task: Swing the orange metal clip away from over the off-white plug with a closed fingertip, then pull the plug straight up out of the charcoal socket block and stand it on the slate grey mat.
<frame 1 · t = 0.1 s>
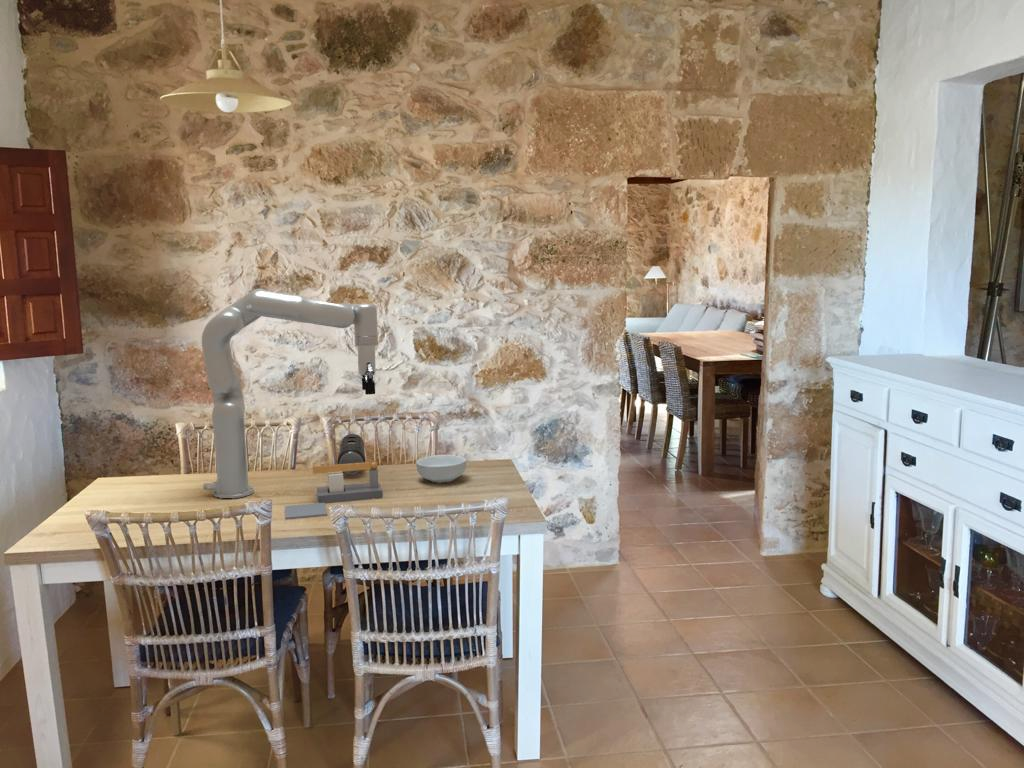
hand: (368, 391, 284), 31 cm above the table, tool pointing down, fingers open, 9 cm apart
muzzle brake: (352, 469, 306), on the table
cereal bowl: (441, 480, 290), on the table
clip: (345, 467, 270), point 10 cm above the table, hinge at 0.0°
socket block: (349, 496, 272), on the table
mat: (305, 511, 257), on the table
plug: (336, 497, 271), resting in socket block
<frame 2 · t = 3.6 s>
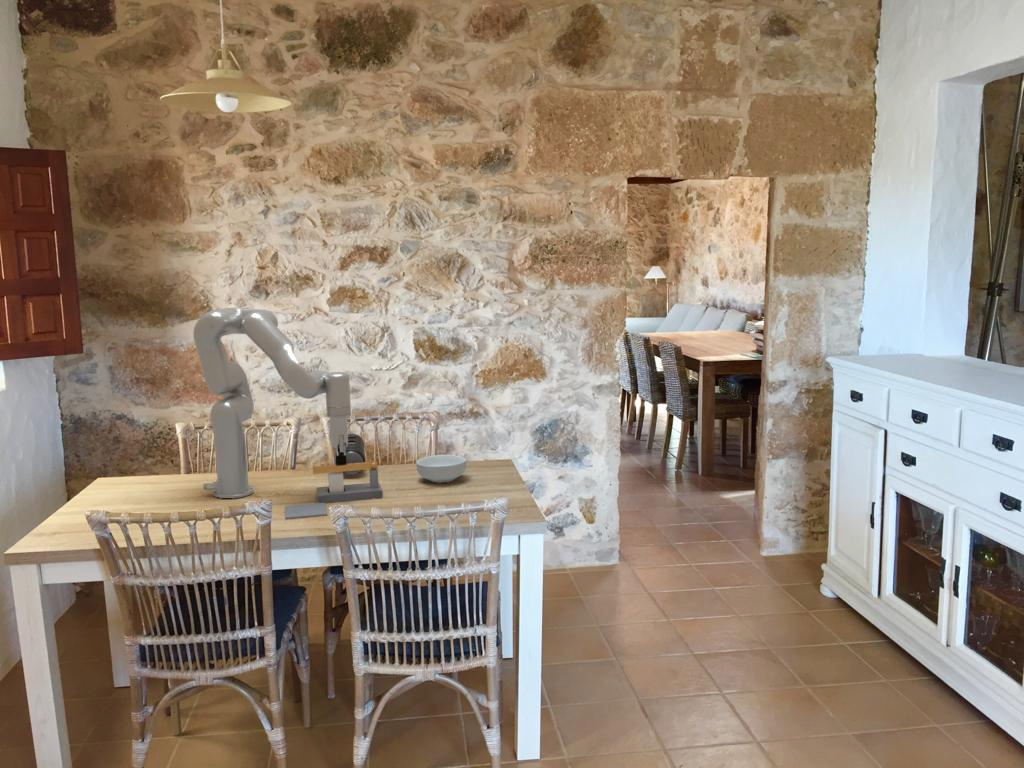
hand: (341, 467, 272), 9 cm above the table, tool pointing down, fingers closed
clip: (345, 467, 270), point 10 cm above the table, hinge at 0.6°, touching gripper
everything else where it was.
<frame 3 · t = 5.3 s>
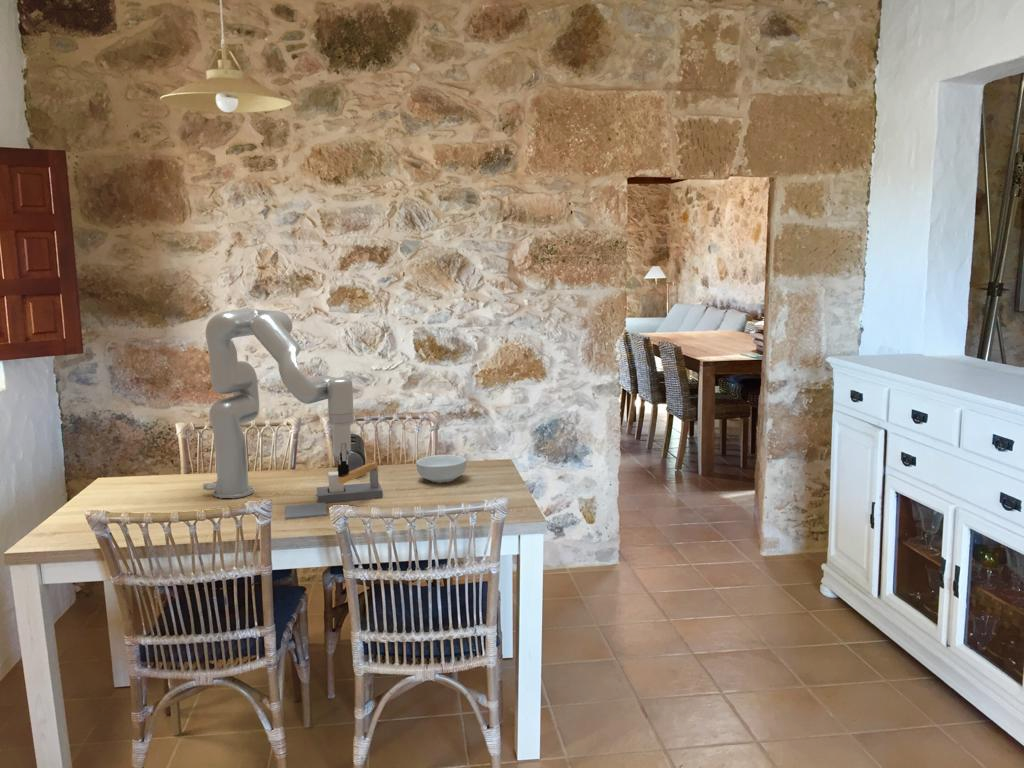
hand: (343, 476, 262), 9 cm above the table, tool pointing down, fingers closed
clip: (358, 472, 264), point 10 cm above the table, hinge at 52.8°, touching gripper
everything else where it was.
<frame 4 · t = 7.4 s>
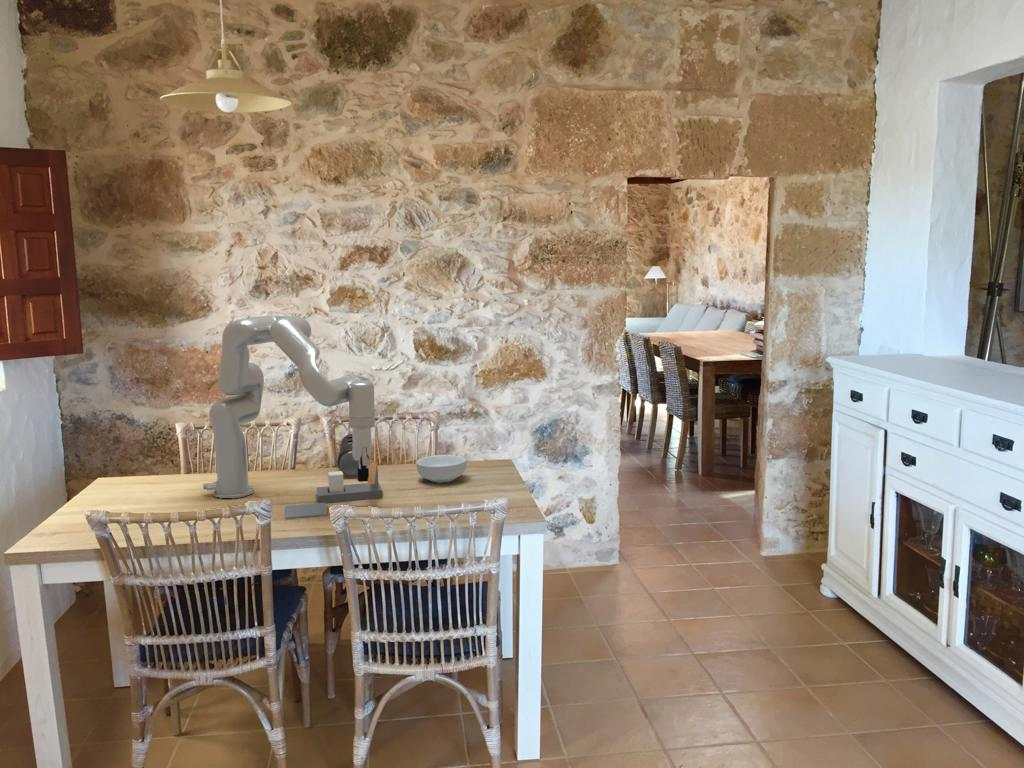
hand: (363, 480, 258), 9 cm above the table, tool pointing down, fingers closed
clip: (372, 472, 264), point 10 cm above the table, hinge at 81.6°, touching gripper
everything else where it was.
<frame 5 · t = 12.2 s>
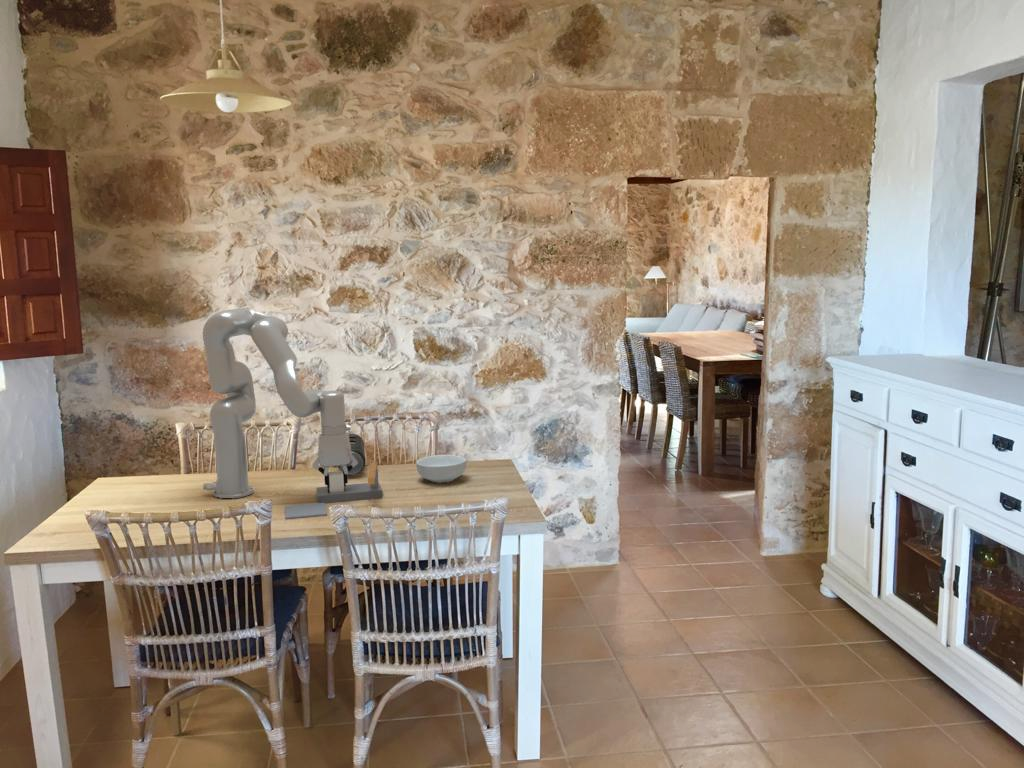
hand: (336, 485, 270), 4 cm above the table, tool pointing down, fingers closed on plug, 4 cm apart
clip: (372, 472, 264), point 10 cm above the table, hinge at 81.6°
plug: (336, 497, 271), resting in socket block, touching gripper
everything else where it was.
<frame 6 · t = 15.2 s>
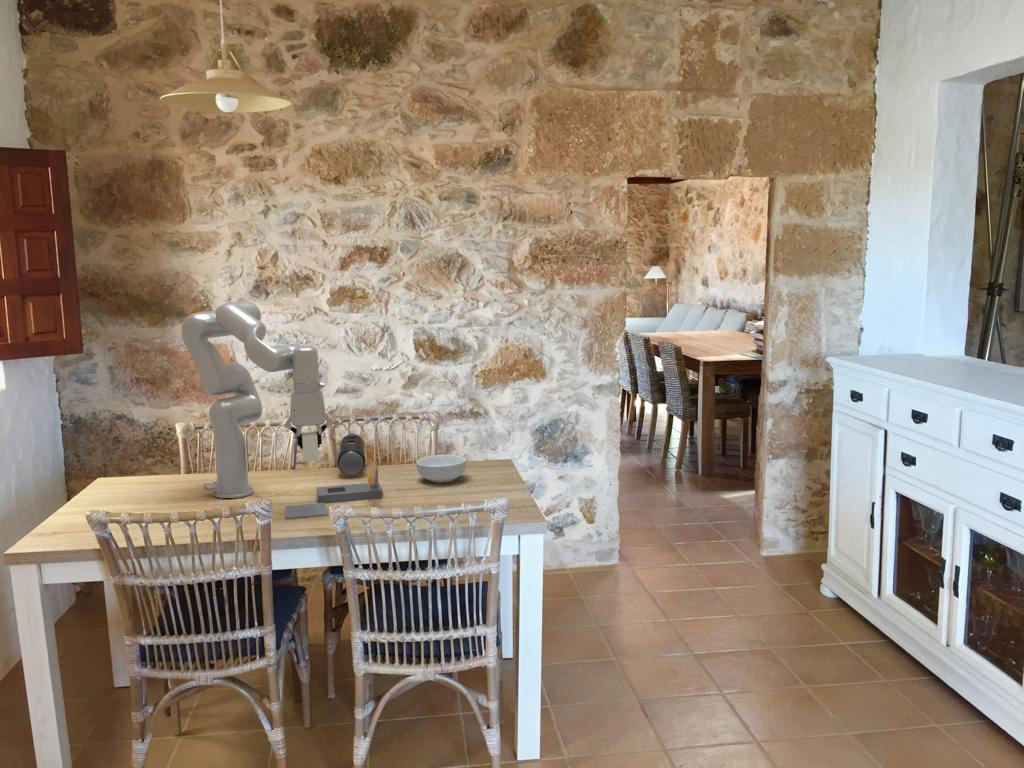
hand: (309, 446, 257), 19 cm above the table, tool pointing down, fingers closed on plug, 4 cm apart
plug: (310, 459, 257), point 15 cm above the table, touching gripper
everything else where it was.
when the fingers open (6 cm above the table, at t = 18.4 s): plug drops 1 cm, resting on mat.
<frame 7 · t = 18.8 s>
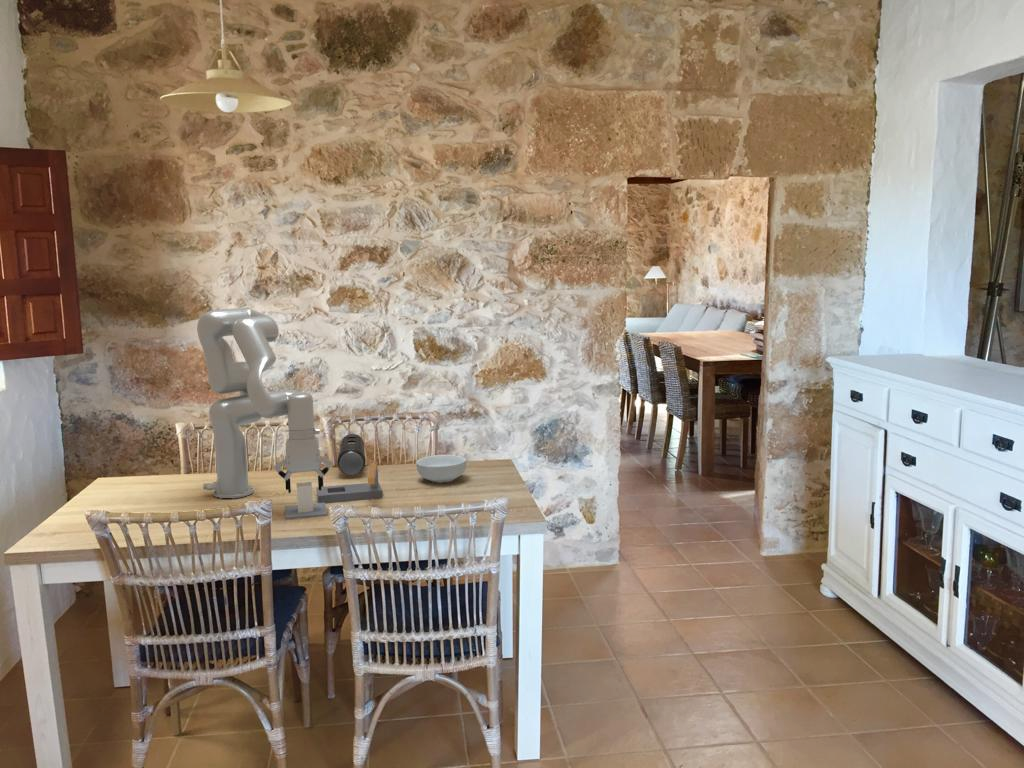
hand: (304, 490, 256), 7 cm above the table, tool pointing down, fingers open, 8 cm apart
plug: (305, 509, 257), resting on mat
everything else where it was.
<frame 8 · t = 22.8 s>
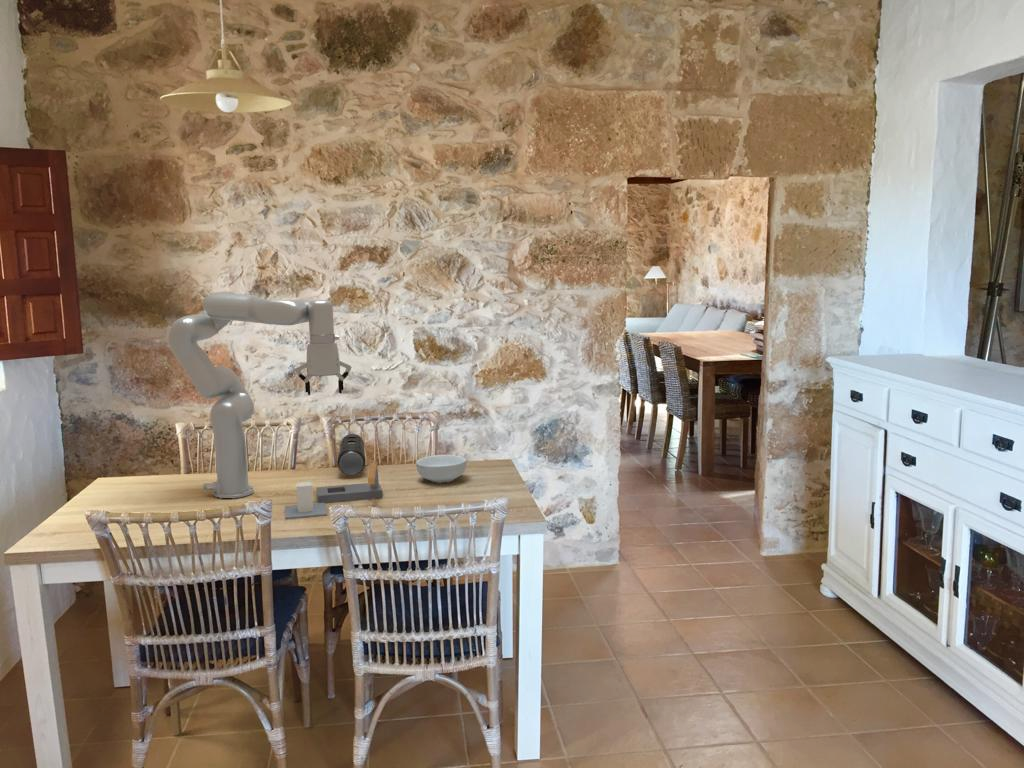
hand: (324, 393, 268), 33 cm above the table, tool pointing down, fingers open, 9 cm apart
nothing on the table moved.
at the end: clip at +82° (first picture: +0°); plug inside the target area on the mat (0.1 cm from its centre), point 0.5 cm above the mat's base; plug tilted 0° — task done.
